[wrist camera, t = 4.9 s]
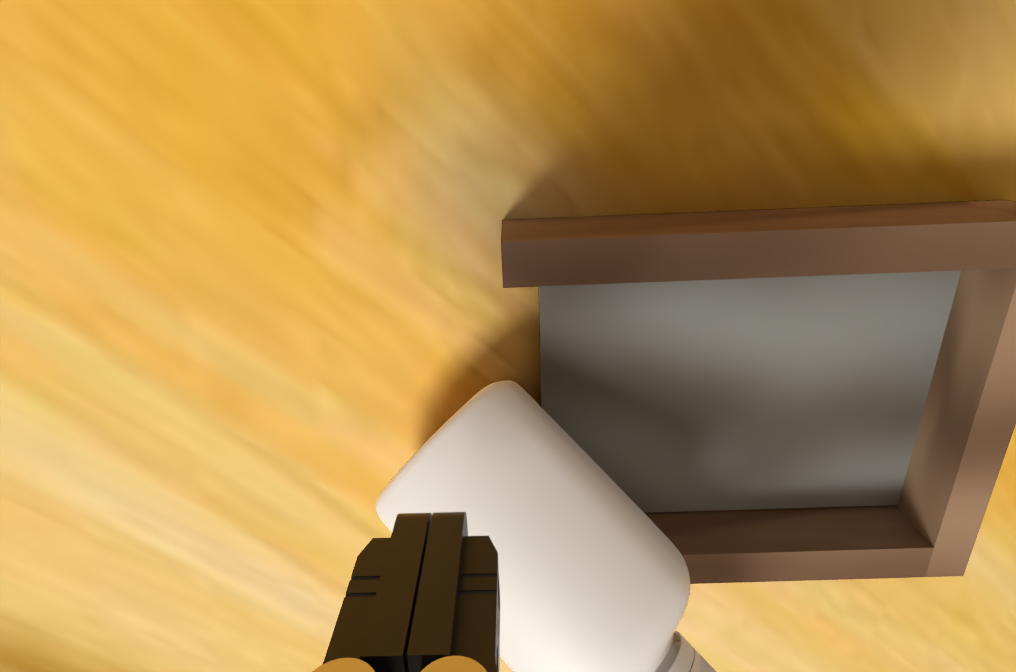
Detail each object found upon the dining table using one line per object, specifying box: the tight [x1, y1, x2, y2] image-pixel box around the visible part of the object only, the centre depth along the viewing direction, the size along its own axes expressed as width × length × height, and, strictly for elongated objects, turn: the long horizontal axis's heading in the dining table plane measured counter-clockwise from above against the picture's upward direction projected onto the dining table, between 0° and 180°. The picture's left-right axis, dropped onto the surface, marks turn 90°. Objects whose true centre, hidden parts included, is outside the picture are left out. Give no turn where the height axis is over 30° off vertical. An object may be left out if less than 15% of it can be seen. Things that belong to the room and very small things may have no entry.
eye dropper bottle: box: [376, 380, 716, 672], centre depth 17 cm, size 4×6×12 cm
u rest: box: [501, 200, 1016, 584], centre depth 18 cm, size 11×14×2 cm
